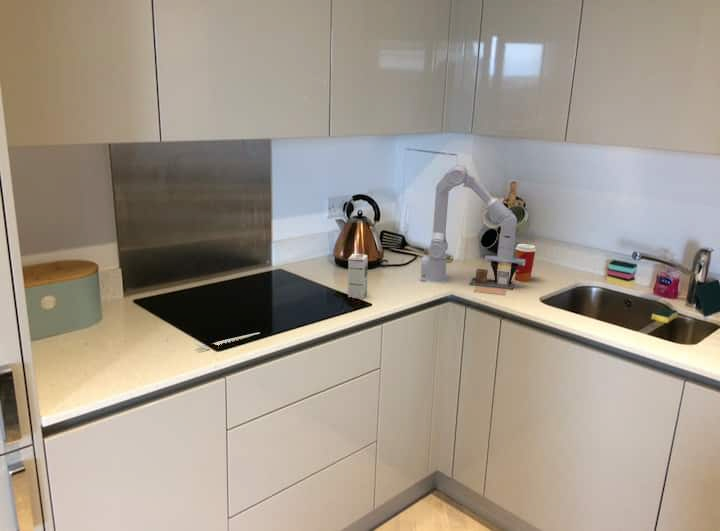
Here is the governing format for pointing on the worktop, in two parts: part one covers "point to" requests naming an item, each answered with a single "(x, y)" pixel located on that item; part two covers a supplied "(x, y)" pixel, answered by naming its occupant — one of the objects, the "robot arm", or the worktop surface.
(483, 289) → the rubber mat
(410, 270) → the worktop surface
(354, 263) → the syrup box
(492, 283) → the parts tray
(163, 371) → the worktop surface
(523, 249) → the paper cup
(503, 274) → the labelled block
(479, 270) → the walnut block
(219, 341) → the fork
